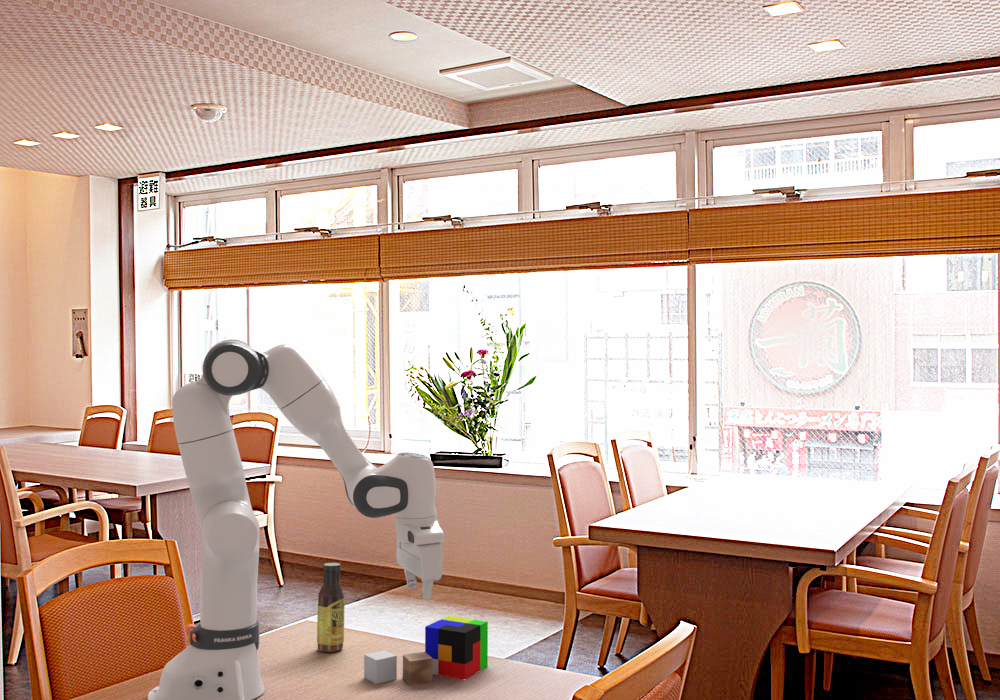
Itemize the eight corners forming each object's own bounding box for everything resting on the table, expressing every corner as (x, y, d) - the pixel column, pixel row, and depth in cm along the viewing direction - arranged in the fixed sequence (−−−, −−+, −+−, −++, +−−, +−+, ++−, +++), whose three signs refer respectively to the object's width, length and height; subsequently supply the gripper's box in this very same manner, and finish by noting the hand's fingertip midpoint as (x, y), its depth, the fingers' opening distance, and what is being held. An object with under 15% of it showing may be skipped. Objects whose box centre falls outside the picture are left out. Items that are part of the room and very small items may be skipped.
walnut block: (410, 685, 198) (410, 661, 198) (402, 678, 202) (402, 654, 202) (432, 682, 200) (432, 658, 200) (424, 674, 204) (424, 651, 204)
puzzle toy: (425, 672, 206) (425, 626, 206) (448, 660, 215) (448, 615, 215) (465, 680, 201) (465, 632, 201) (487, 666, 210) (487, 621, 210)
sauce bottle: (335, 654, 218) (335, 568, 218) (311, 651, 220) (312, 566, 220) (349, 646, 224) (349, 562, 224) (326, 644, 226) (326, 560, 226)
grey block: (376, 684, 198) (376, 660, 198) (364, 678, 202) (364, 654, 202) (396, 679, 202) (396, 655, 202) (384, 673, 205) (384, 650, 205)
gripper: (388, 522, 210) (390, 584, 210) (417, 538, 191) (420, 607, 191) (415, 519, 213) (417, 581, 213) (447, 535, 194) (449, 602, 194)
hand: (419, 593), depth 202 cm, fingers open, 8 cm apart
